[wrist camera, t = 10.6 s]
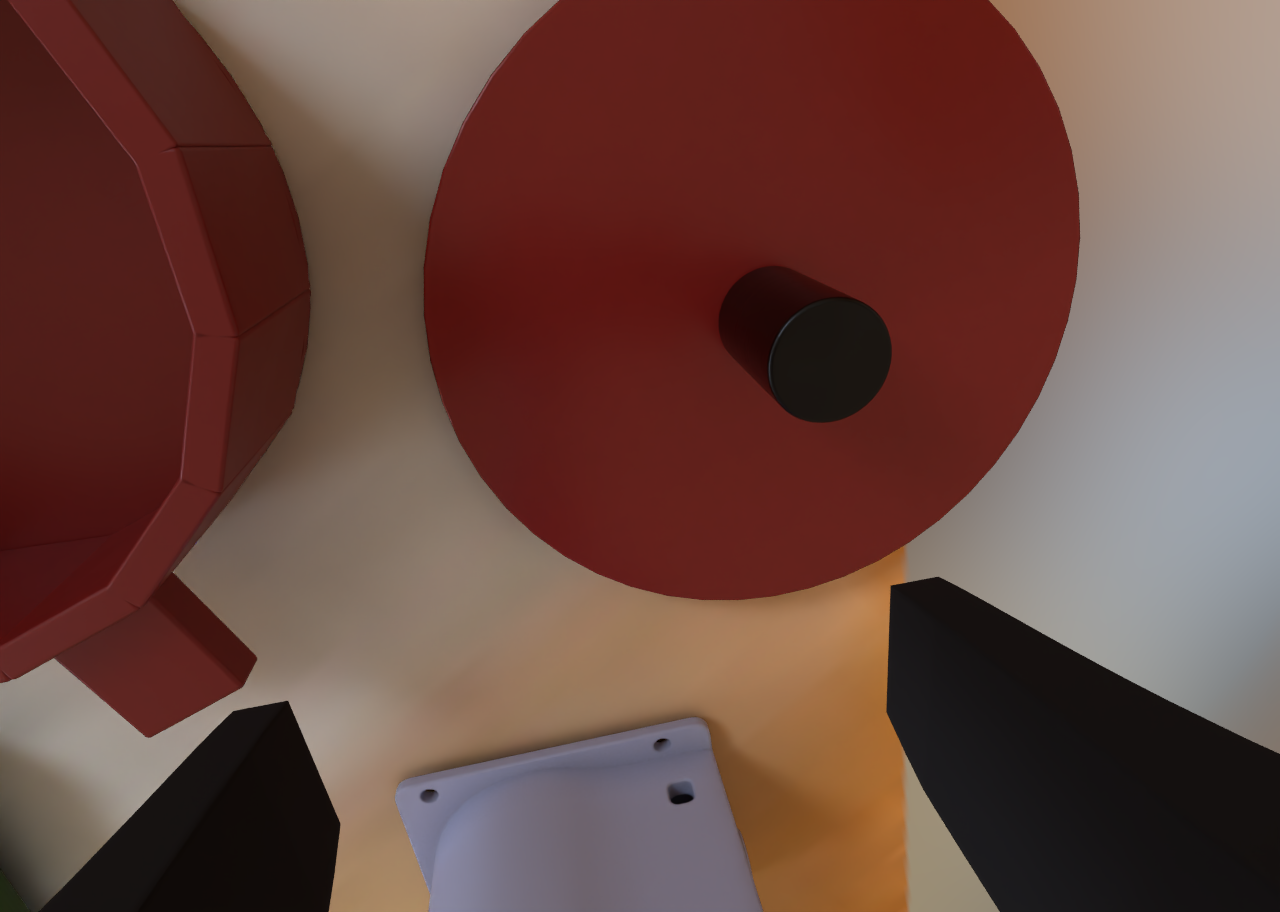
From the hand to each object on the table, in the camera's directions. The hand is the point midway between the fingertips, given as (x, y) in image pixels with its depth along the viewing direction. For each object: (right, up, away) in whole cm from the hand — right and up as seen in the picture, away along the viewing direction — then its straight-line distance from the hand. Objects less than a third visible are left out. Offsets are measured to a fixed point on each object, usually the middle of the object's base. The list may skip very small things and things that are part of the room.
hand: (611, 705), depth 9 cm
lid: (+3, +6, +9) cm, 11 cm away
